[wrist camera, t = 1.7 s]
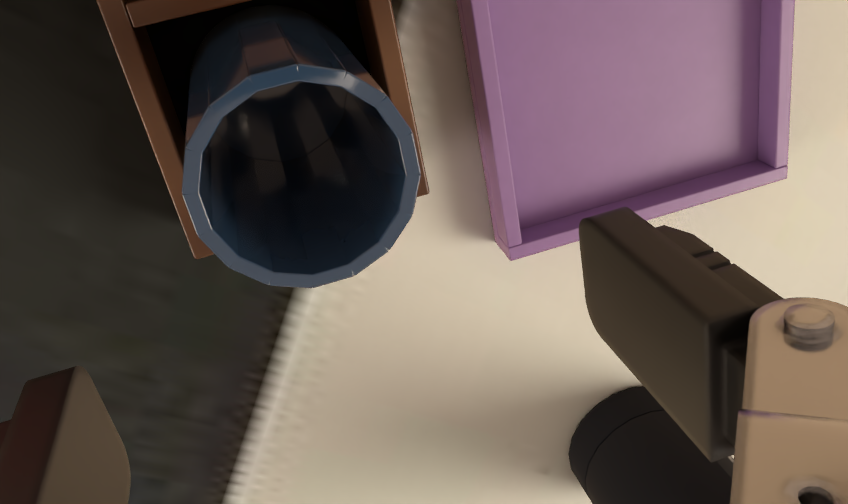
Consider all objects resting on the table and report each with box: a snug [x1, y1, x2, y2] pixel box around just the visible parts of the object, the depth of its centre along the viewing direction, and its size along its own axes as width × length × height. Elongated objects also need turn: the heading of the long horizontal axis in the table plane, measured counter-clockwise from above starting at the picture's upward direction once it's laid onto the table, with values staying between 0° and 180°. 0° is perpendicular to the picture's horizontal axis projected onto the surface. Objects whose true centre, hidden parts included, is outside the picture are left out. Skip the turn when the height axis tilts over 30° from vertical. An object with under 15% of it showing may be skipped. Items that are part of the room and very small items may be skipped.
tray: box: [456, 0, 795, 261], centre depth 28 cm, size 14×12×2 cm
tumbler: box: [182, 5, 421, 288], centre depth 22 cm, size 6×6×10 cm
